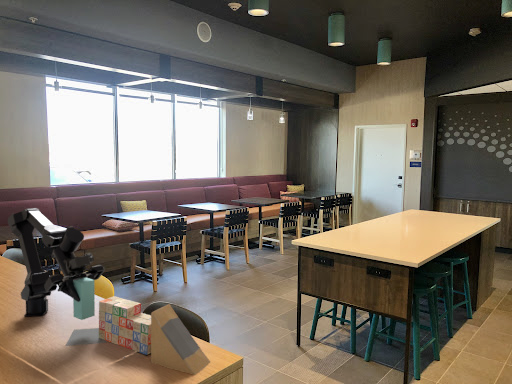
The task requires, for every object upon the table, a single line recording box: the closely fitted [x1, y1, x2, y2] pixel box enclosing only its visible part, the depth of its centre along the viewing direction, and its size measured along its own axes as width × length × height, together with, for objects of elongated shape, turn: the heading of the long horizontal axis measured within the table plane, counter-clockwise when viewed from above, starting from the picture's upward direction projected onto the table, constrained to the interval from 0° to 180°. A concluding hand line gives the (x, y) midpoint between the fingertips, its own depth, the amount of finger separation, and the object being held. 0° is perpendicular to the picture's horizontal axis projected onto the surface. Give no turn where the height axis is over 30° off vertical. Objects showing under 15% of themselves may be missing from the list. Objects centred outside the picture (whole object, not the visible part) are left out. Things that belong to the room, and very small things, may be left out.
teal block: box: [72, 278, 96, 321], centre depth 130 cm, size 5×5×12 cm
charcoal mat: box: [65, 327, 108, 347], centre depth 129 cm, size 12×12×1 cm
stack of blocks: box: [98, 295, 151, 356], centre depth 125 cm, size 21×6×12 cm, turn 61°
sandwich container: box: [150, 303, 211, 376], centre depth 114 cm, size 9×15×15 cm, turn 65°
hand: (86, 299), depth 129 cm, fingers closed on teal block, 5 cm apart
